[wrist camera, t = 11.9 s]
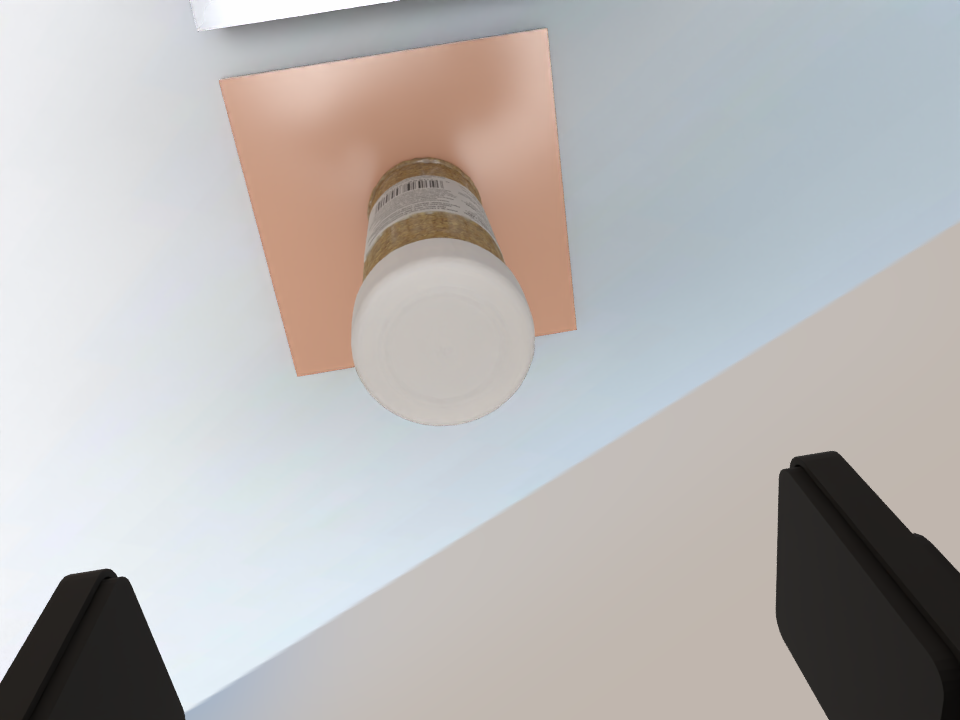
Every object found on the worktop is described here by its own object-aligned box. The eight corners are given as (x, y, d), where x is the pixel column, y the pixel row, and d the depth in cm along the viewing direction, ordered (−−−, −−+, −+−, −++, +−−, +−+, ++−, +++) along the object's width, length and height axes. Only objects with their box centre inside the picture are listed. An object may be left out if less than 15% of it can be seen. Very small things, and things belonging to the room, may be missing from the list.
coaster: (544, 27, 30) (547, 28, 29) (573, 324, 35) (576, 329, 34) (221, 78, 29) (218, 80, 29) (299, 370, 34) (297, 376, 34)
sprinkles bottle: (374, 272, 32) (360, 440, 20) (361, 157, 30) (337, 267, 18) (487, 263, 33) (540, 424, 20) (481, 149, 31) (536, 252, 19)
